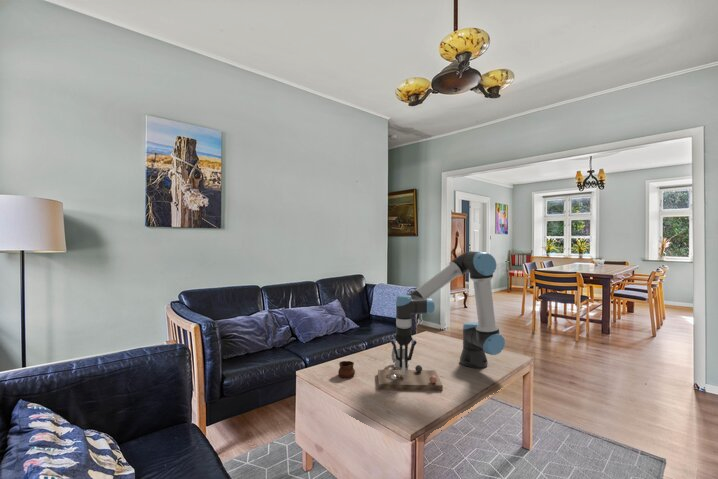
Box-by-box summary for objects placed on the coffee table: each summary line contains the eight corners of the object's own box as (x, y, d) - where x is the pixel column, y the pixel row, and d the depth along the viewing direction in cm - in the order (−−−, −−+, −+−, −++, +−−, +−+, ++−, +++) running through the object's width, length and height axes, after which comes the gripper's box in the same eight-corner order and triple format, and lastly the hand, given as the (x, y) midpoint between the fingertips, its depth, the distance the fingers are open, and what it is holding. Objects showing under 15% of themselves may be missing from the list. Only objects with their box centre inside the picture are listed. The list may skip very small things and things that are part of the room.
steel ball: (388, 376, 173) (392, 382, 172) (388, 378, 169) (392, 384, 169) (394, 372, 173) (398, 378, 172) (394, 374, 169) (398, 380, 169)
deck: (435, 375, 179) (435, 370, 179) (442, 390, 161) (442, 385, 161) (377, 374, 180) (377, 369, 180) (378, 389, 162) (378, 384, 162)
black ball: (421, 370, 179) (421, 364, 179) (422, 373, 175) (422, 366, 175) (414, 370, 179) (414, 364, 179) (415, 373, 175) (415, 366, 175)
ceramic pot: (331, 384, 168) (332, 370, 168) (327, 371, 185) (327, 358, 185) (367, 382, 172) (367, 367, 172) (359, 369, 189) (359, 356, 189)
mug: (401, 371, 184) (401, 349, 184) (386, 365, 193) (387, 343, 193) (411, 368, 188) (411, 346, 188) (397, 362, 198) (397, 341, 198)
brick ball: (436, 381, 165) (436, 374, 165) (437, 384, 162) (437, 377, 162) (428, 381, 166) (428, 374, 165) (430, 384, 162) (430, 377, 162)
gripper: (415, 324, 174) (415, 371, 174) (390, 324, 174) (389, 370, 175) (417, 328, 166) (417, 377, 167) (391, 328, 167) (390, 376, 167)
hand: (403, 373), depth 171 cm, fingers closed
